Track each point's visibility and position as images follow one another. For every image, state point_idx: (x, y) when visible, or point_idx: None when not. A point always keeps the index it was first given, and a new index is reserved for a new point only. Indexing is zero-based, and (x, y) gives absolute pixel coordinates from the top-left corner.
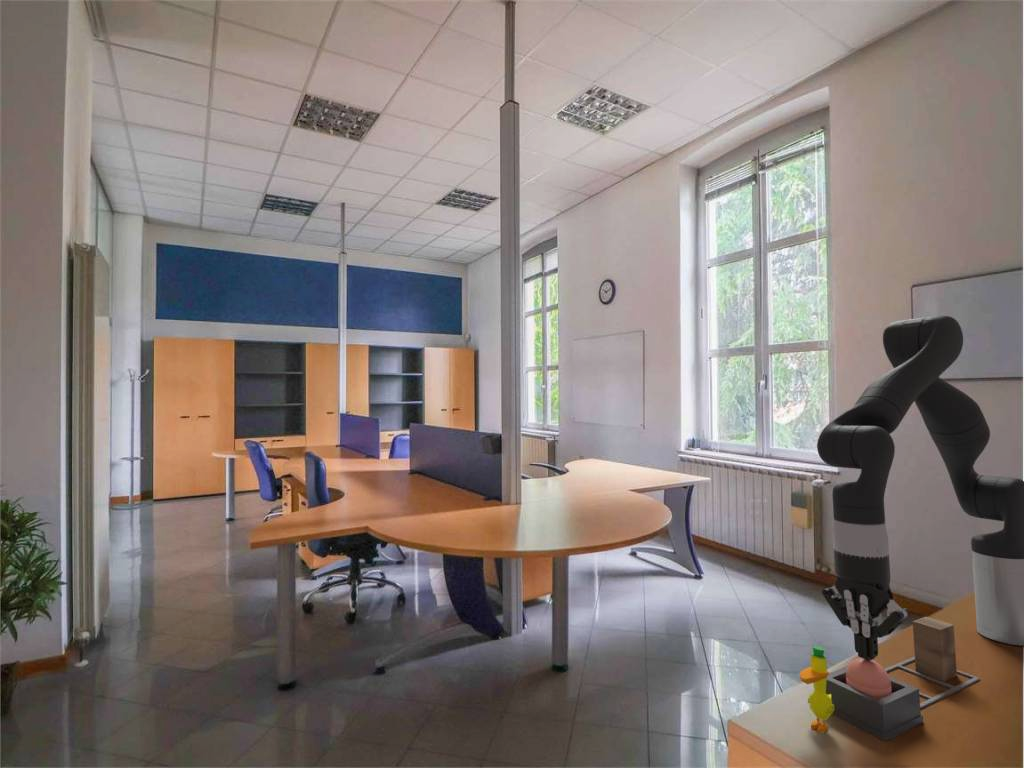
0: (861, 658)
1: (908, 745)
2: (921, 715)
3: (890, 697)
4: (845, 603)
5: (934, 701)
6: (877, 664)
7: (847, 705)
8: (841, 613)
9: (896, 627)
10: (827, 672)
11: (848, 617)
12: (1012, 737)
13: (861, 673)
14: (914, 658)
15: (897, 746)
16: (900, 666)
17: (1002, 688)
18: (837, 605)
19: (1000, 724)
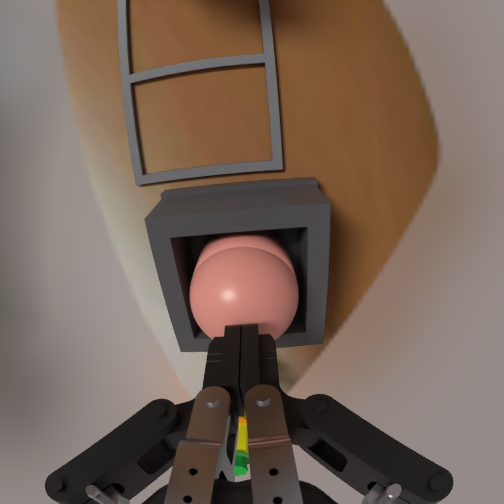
0: (223, 328)
1: (339, 278)
2: (316, 183)
3: (315, 307)
4: (121, 466)
5: (274, 63)
6: (267, 314)
7: None
8: (166, 468)
9: (372, 430)
10: (246, 424)
11: (174, 445)
12: (418, 80)
13: None
14: None
15: (330, 295)
16: None
17: None
18: (144, 487)
19: (388, 44)
